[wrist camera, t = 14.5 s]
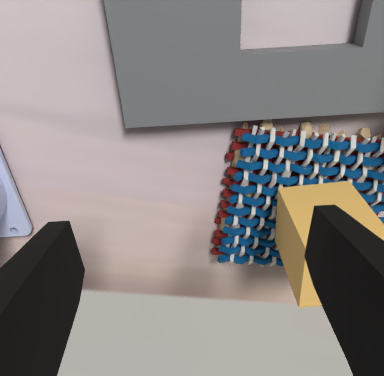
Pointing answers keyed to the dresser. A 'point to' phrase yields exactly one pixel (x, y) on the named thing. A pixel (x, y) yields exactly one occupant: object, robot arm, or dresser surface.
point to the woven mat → (288, 181)
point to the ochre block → (300, 224)
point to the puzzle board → (235, 66)
